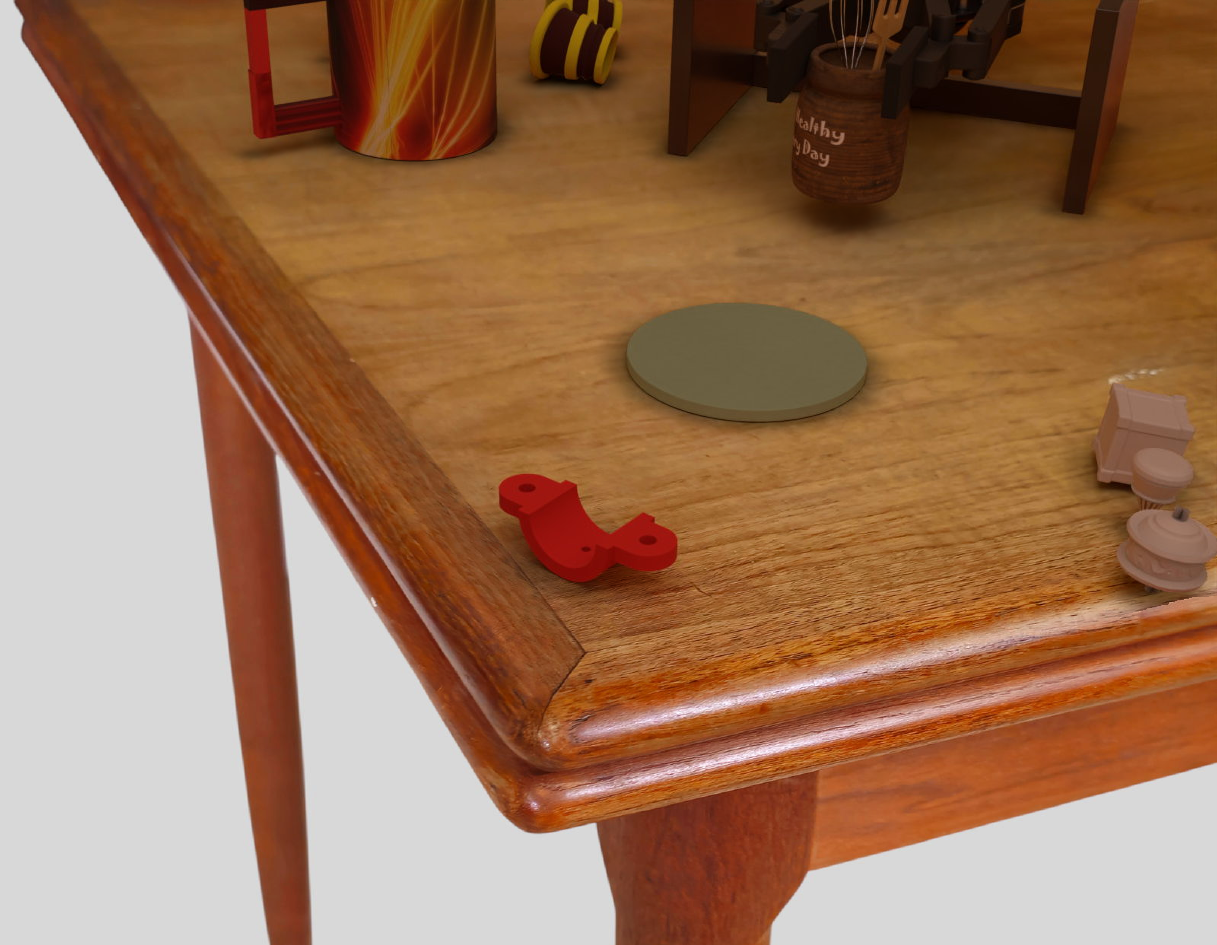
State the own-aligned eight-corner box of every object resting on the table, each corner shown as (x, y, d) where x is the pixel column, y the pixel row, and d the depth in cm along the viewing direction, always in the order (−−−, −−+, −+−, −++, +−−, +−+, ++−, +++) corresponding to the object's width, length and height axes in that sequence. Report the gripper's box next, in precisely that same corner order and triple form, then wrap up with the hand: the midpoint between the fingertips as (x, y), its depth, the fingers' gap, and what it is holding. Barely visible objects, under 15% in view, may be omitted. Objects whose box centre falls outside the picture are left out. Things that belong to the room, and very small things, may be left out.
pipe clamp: (529, 464, 71) (530, 511, 72) (481, 493, 69) (483, 541, 70) (694, 534, 67) (692, 582, 68) (647, 566, 65) (646, 616, 66)
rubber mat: (909, 401, 80) (910, 389, 80) (680, 438, 77) (680, 425, 77) (802, 301, 89) (804, 289, 89) (592, 331, 86) (592, 319, 85)
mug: (250, 156, 104) (230, -61, 97) (404, 94, 113) (396, -108, 106) (379, 194, 99) (368, -30, 92) (529, 126, 109) (528, -82, 102)
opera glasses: (603, 104, 115) (620, 27, 112) (522, 85, 114) (537, 7, 112) (614, 57, 123) (630, -16, 120) (538, 38, 122) (552, -35, 120)
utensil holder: (868, 161, 100) (895, -64, 93) (923, 203, 95) (955, -30, 88) (770, 171, 98) (790, -57, 91) (821, 215, 93) (846, -22, 86)
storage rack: (739, 77, 117) (750, -101, 111) (1115, 127, 111) (1149, -58, 105) (667, 153, 105) (675, -41, 99) (1083, 214, 99) (1119, 11, 93)
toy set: (1192, 390, 75) (1164, 466, 77) (1110, 374, 75) (1084, 451, 77) (1236, 542, 65) (1202, 625, 67) (1141, 523, 65) (1111, 607, 67)
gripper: (1074, 49, 106) (1007, 184, 88) (776, 11, 111) (654, 132, 93) (1096, -85, 102) (1030, 29, 84) (785, -117, 107) (659, -17, 89)
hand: (833, 83), depth 88 cm, fingers closed on utensil holder, 5 cm apart
